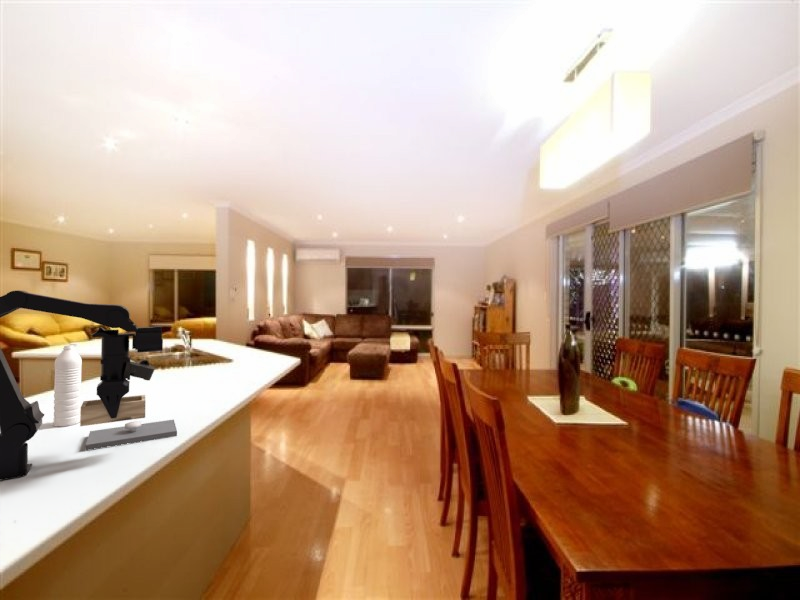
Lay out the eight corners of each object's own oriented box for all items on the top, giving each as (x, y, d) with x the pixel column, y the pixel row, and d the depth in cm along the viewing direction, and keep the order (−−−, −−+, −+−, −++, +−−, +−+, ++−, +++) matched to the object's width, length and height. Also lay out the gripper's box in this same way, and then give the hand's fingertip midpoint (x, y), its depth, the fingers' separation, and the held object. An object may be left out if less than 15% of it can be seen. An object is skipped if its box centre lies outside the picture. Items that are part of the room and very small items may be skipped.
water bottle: (75, 425, 119) (76, 345, 119) (49, 427, 117) (50, 346, 117) (87, 417, 128) (88, 342, 127) (62, 419, 125) (64, 342, 125)
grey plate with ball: (176, 435, 113) (177, 423, 113) (85, 450, 101) (85, 436, 101) (173, 424, 123) (173, 412, 123) (90, 436, 111) (90, 423, 111)
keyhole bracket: (145, 417, 99) (145, 400, 99) (80, 426, 92) (80, 407, 92) (144, 411, 105) (145, 394, 105) (83, 418, 97) (83, 401, 97)
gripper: (154, 356, 95) (152, 419, 95) (151, 347, 110) (150, 401, 111) (96, 360, 89) (95, 427, 89) (102, 349, 104) (102, 406, 104)
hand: (114, 414), depth 98 cm, fingers closed on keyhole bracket, 6 cm apart
